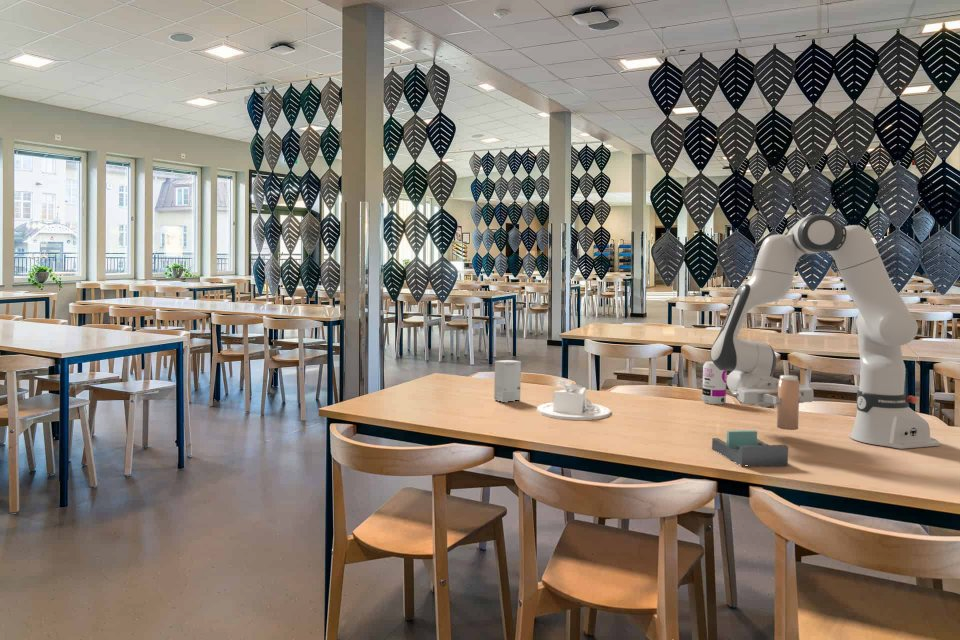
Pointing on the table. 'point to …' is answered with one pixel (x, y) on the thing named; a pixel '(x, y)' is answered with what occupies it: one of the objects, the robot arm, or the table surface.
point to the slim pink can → (788, 402)
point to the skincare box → (507, 380)
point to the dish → (572, 405)
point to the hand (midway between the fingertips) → (790, 400)
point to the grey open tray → (753, 453)
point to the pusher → (741, 438)
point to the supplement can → (713, 384)
